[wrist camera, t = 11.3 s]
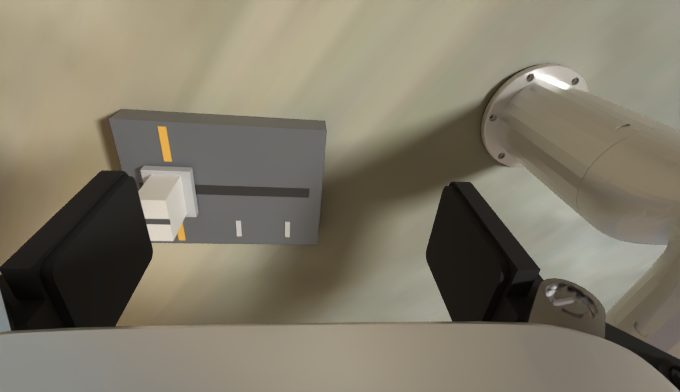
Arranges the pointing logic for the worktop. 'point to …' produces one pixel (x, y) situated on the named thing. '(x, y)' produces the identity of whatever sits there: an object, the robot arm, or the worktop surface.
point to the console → (233, 172)
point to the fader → (167, 199)
